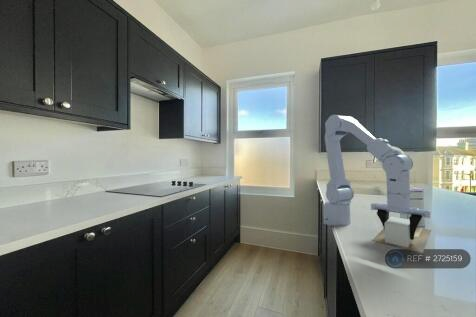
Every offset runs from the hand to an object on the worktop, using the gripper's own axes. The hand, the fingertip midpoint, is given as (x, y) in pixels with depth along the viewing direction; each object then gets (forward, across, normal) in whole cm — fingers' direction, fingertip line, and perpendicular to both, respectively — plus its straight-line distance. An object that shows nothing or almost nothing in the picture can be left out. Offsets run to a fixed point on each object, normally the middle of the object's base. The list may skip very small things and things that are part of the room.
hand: (399, 235), depth 64 cm
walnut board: (+2, 0, +6) cm, 6 cm away
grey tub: (+1, 0, 0) cm, 1 cm away
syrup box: (+3, 0, +25) cm, 25 cm away
